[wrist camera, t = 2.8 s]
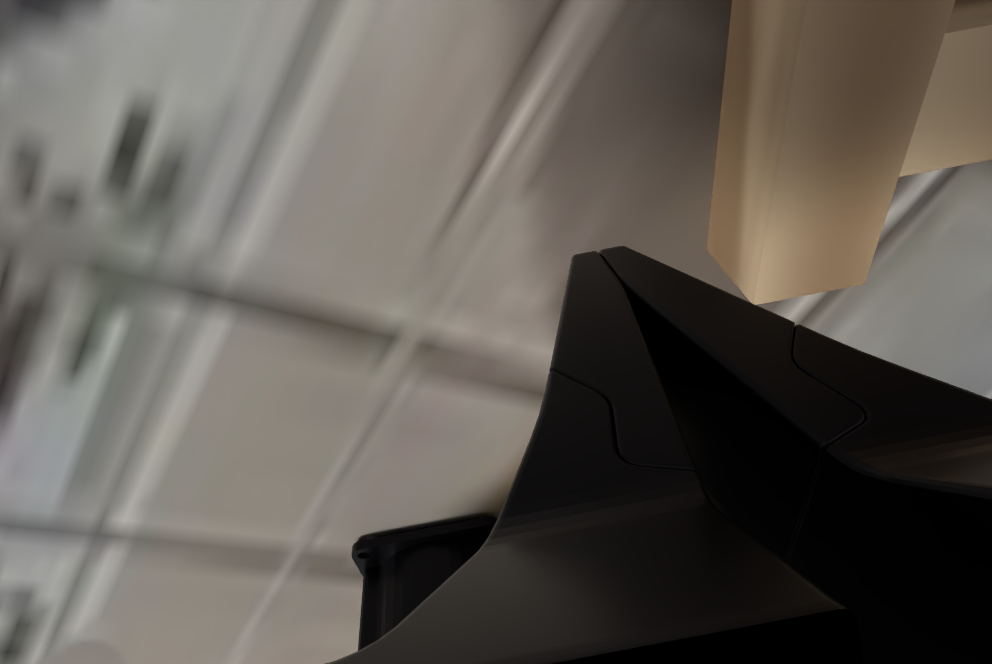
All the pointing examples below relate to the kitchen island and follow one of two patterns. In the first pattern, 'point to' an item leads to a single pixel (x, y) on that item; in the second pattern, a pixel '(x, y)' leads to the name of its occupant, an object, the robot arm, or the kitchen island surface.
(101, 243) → the kitchen island surface
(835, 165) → the t block
